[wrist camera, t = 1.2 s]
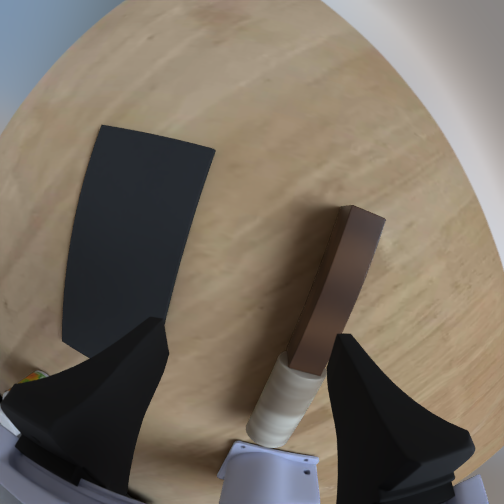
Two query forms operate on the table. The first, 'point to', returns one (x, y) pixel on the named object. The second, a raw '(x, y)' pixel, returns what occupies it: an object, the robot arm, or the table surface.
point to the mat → (129, 234)
